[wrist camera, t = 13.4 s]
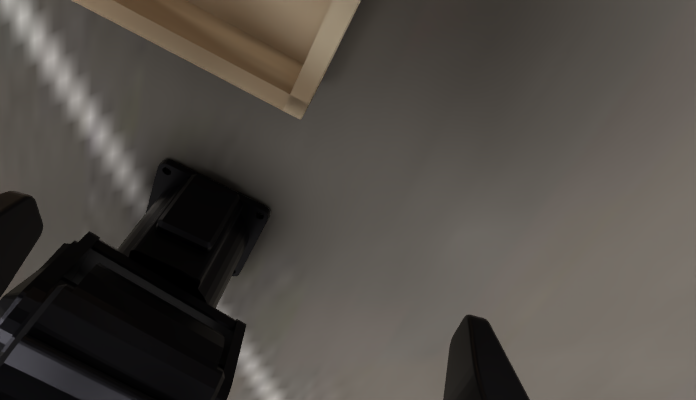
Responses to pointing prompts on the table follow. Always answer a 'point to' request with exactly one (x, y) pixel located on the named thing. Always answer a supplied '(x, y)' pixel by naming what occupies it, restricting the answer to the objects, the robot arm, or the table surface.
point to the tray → (244, 40)
